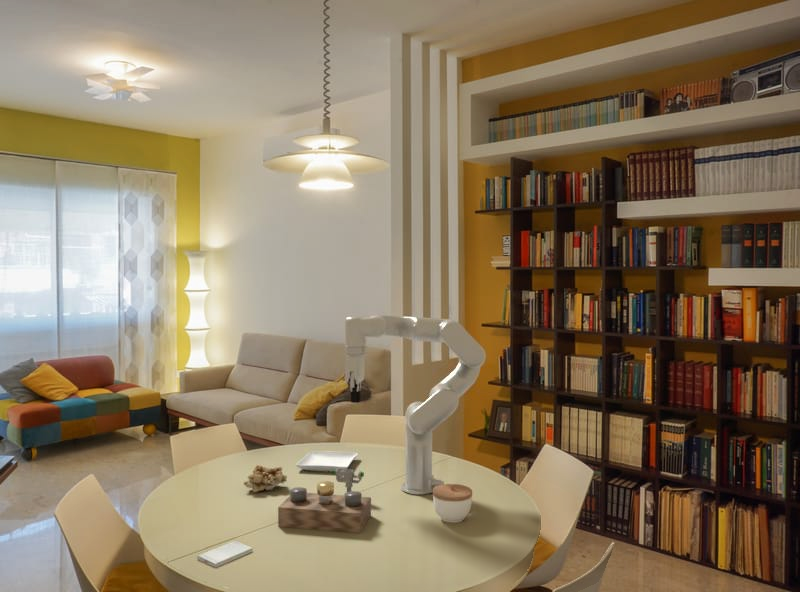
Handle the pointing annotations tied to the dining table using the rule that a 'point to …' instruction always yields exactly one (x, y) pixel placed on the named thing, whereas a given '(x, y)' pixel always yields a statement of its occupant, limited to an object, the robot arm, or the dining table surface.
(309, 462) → the salad plate
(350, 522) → the knob panel
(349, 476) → the mechanical component
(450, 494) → the lidded bowl
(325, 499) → the knob middle
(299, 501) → the knob
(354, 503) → the knob
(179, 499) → the dining table surface
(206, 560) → the hard drive
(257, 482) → the mineral formation
